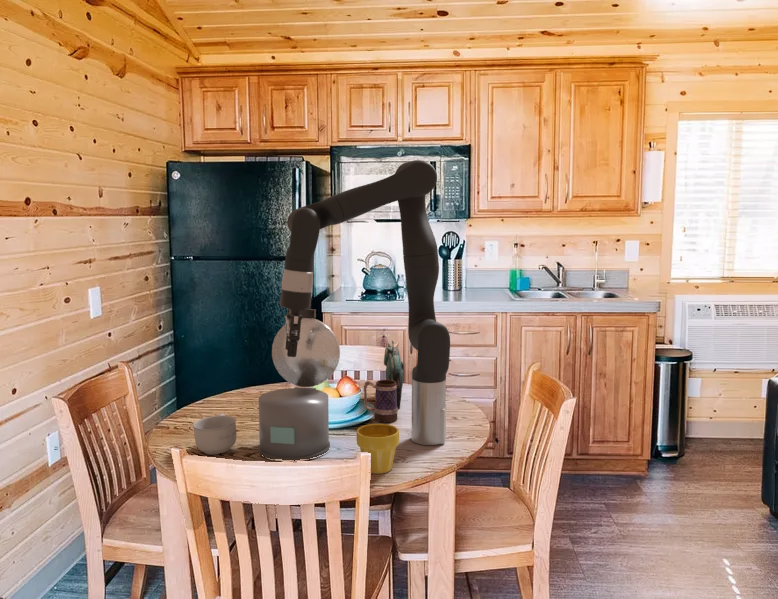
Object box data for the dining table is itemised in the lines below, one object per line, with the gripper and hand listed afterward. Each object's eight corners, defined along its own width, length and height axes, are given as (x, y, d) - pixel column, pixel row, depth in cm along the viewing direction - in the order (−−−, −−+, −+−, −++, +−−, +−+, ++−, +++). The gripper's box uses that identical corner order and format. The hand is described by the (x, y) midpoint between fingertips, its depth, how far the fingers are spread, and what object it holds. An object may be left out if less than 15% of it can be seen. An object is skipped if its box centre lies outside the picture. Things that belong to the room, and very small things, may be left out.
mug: (397, 416, 195) (398, 378, 194) (397, 423, 188) (397, 384, 186) (364, 415, 195) (364, 377, 194) (362, 423, 188) (362, 383, 187)
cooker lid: (338, 388, 173) (340, 386, 176) (339, 310, 172) (341, 309, 175) (271, 385, 176) (275, 383, 179) (272, 308, 175) (276, 307, 178)
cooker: (338, 437, 176) (337, 388, 174) (318, 465, 156) (318, 410, 155) (274, 433, 179) (273, 385, 177) (247, 460, 160) (245, 406, 158)
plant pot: (347, 470, 153) (347, 431, 152) (372, 457, 162) (372, 420, 160) (383, 480, 147) (383, 440, 146) (407, 466, 156) (407, 428, 155)
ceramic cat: (383, 392, 221) (383, 336, 218) (401, 392, 221) (402, 336, 218) (386, 410, 201) (386, 348, 198) (406, 409, 201) (407, 348, 199)
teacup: (226, 459, 160) (225, 429, 159) (186, 456, 162) (185, 426, 161) (247, 440, 174) (247, 412, 172) (210, 438, 175) (209, 409, 174)
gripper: (314, 293, 151) (307, 360, 152) (309, 287, 165) (303, 348, 166) (282, 290, 149) (276, 358, 151) (280, 284, 163) (274, 346, 165)
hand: (290, 353), depth 159 cm, fingers open, 8 cm apart
